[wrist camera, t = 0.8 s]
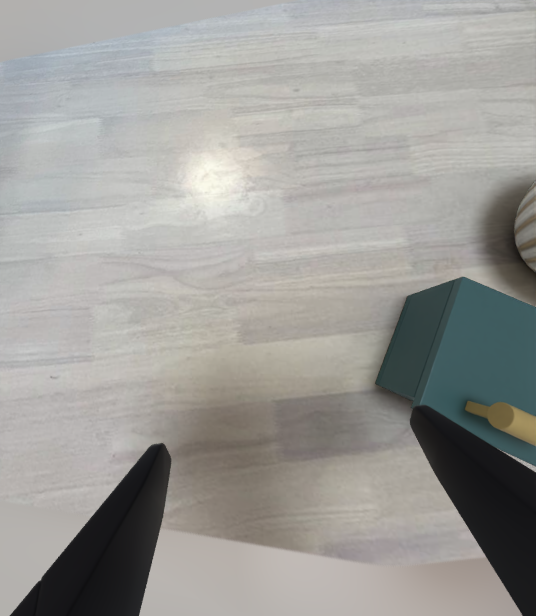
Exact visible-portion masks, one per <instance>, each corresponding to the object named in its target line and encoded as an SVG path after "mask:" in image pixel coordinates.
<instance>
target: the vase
mask: <svg viewBox="0 0 536 616" xmlns="http://www.w3.org/2000/svg"><path fill="white" fill-rule="evenodd" d="M514 236H515V243H516V247H517V250H518V252H519V254H520V256H521V257H522V259H523V260H524V262H525V263H526V264H527V265H528V266H529V267H530V268H531V269H532V270H533V271H534V272H535V273H536V180H535V182H534V183H533V184H532V186H531V187H530V188H529V190H528V191H527V193H526V194H525V196H524V198H523V199H522V201H521V203H520V205H519V208H518V211H517V214H516V218H515V223H514Z"/></svg>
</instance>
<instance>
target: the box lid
mask: <svg viewBox="0 0 536 616" xmlns="http://www.w3.org/2000/svg"><path fill="white" fill-rule="evenodd" d="M417 405H428V406H429V407H431V408H433V409H434V410H436V411H437V412H439V413H441V414H442V415H444V416H446V417H447V418H449V419H450V420H452V421H454V422H455V423H457V424H458V425H460V426H462V427H463V428H465V429H466V430H468V431H470V432H471V433H473V434H475V435H476V436H478V437H479V438H481V439H483V440H484V441H486V442H487V443H489V444H491V445H492V446H494V447H495V448H497V449H499V450H502V451H504V452H506V453H508V454H510V455H512V456H514V457H517V458H519V459H521V460H523V461H525V462H527V463H529V464H532V465H534V466H536V307H534V306H532V305H529V304H527V303H524V302H522V301H520V300H517V299H515V298H513V297H510V296H508V295H506V294H503V293H501V292H499V291H496V290H494V289H491V288H489V287H487V286H484V285H482V284H480V283H477V282H475V281H473V280H470V279H468V278H466V277H461V278H458V279H455V282H454V285H453V288H452V290H451V293H450V296H449V299H448V302H447V305H446V308H445V311H444V314H443V317H442V319H441V322H440V325H439V328H438V331H437V334H436V337H435V340H434V343H433V346H432V348H431V351H430V354H429V357H428V360H427V363H426V366H425V369H424V372H423V374H422V377H421V380H420V383H419V386H418V389H417V392H416V395H415V398H414V401H413V403H412V406H411V408H412V409H413V407H414V406H417Z"/></svg>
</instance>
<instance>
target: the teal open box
mask: <svg viewBox="0 0 536 616" xmlns="http://www.w3.org/2000/svg"><path fill="white" fill-rule="evenodd" d="M454 282H455V280H452V281H449V282H446V283H443V284H440V285H437V286H435V287H432V288H429V289H426V290H423V291H420V292H417V293H415V294H412V295H409V296H408V297H407V300H406V303H405V305H404V308H403V311H402V313H401V316H400V319H399V321H398V324H397V327H396V330H395V332H394V335H393V338H392V340H391V343H390V346H389V348H388V351H387V354H386V356H385V359H384V362H383V364H382V367H381V370H380V372H379V375H378V378H377V380H376V383H375V384H377V385H379V386H381V387H383V388H385V389H388V390H390V391H392V392H394V393H396V394H398V395H400V396H403V397H405V398H407V399H409V400H411V401H414V398H415V395H416V392H417V389H418V386H419V383H420V380H421V377H422V374H423V372H424V369H425V366H426V363H427V360H428V357H429V354H430V351H431V348H432V346H433V343H434V340H435V337H436V334H437V331H438V328H439V325H440V322H441V319H442V317H443V314H444V311H445V308H446V305H447V302H448V299H449V296H450V293H451V290H452V288H453V285H454Z"/></svg>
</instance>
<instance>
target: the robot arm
mask: <svg viewBox="0 0 536 616" xmlns="http://www.w3.org/2000/svg"><path fill="white" fill-rule="evenodd" d="M410 425H411V428H412V430H413V432H414V434H415V436H416V438H417V440H418V442H419V444H420V446H421V448H422V450H423V452H424V454H425V456H426V458H427V459H428V461H429V463H430V465H431V467H432V469H433V471H434V473H435V475H436V476H437V478H438V480H439V481H440V483H441V485H442V486H443V488H444V489H445V491H446V493H447V494H448V496H449V497H450V499H451V501H452V502H453V504H454V506H455V507H456V509H457V510H458V512H459V514H460V515H461V517H462V518H463V520H464V522H465V523H466V525H467V526H468V528H469V530H470V531H471V533H472V535H473V536H474V538H475V539H476V541H477V543H478V544H479V546H480V547H481V549H482V551H483V552H484V554H485V555H486V557H487V559H488V560H489V562H490V564H491V565H492V567H493V568H494V570H495V572H496V573H497V575H498V576H499V578H500V579H501V581H502V583H503V584H504V586H505V588H506V589H507V591H508V592H509V594H510V596H511V597H512V599H513V600H514V602H515V604H516V605H517V607H518V608H519V610H520V612H521V613H522V615H523V616H536V472H534V471H533V470H531V469H529V468H528V467H526V466H524V465H523V464H521V463H520V462H518V461H516V460H515V459H513V458H512V457H510V456H508V455H507V454H505V453H504V452H502V451H500V450H499V449H497V448H495V447H494V446H492V445H491V444H489V443H487V442H486V441H484V440H483V439H481V438H479V437H478V436H476V435H475V434H473V433H471V432H470V431H468V430H466V429H465V428H463V427H462V426H460V425H458V424H457V423H455V422H454V421H452V420H450V419H449V418H447V417H446V416H444V415H442V414H441V413H439V412H437V411H436V410H434V409H433V408H431V407H429V406H428V405H417V406H414V407H413V409H412V414H411V418H410ZM170 468H171V456H170V454H169V452H168V450H167V448H166V446H165V444H163V443H159V444H153V445H151V446H150V447H149V448H148V449H147V451H146V452H145V453H144V454H143V455H142V457H141V458H140V459H139V460H138V461H137V463H136V464H135V465H134V466H133V468H132V469H131V470H130V471H129V472H128V474H127V475H126V476H125V477H124V478H123V480H122V481H121V482H120V483H119V484H118V486H117V487H116V488H115V489H114V491H113V492H112V493H111V494H110V495H109V497H108V498H107V499H106V500H105V501H104V503H103V504H102V505H101V506H100V508H99V509H98V510H97V511H96V512H95V514H94V515H93V516H92V517H91V518H90V520H89V521H88V522H87V523H86V524H85V526H84V527H83V528H82V529H81V531H80V532H79V533H78V534H77V535H76V537H75V538H74V539H73V540H72V541H71V543H70V544H69V545H68V546H67V548H66V549H65V550H64V551H63V552H62V554H61V555H60V556H59V557H58V559H57V560H56V561H55V562H54V563H53V565H52V566H51V567H50V568H49V570H48V571H47V572H46V573H45V574H44V576H43V577H42V579H41V581H39V582H38V583H37V584H36V585H35V586H34V587H33V589H32V590H31V591H30V592H29V594H28V595H27V596H26V597H25V598H24V599H23V601H22V602H21V603H20V604H19V605H18V607H17V608H16V609H15V610H14V611H13V613H12V614H11V615H10V616H139V613H140V609H141V605H142V601H143V597H144V593H145V588H146V584H147V580H148V576H149V572H150V568H151V564H152V559H153V556H154V551H155V547H156V543H157V539H158V535H159V531H160V527H161V523H162V518H163V513H164V507H165V501H166V494H167V488H168V481H169V475H170Z"/></svg>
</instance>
